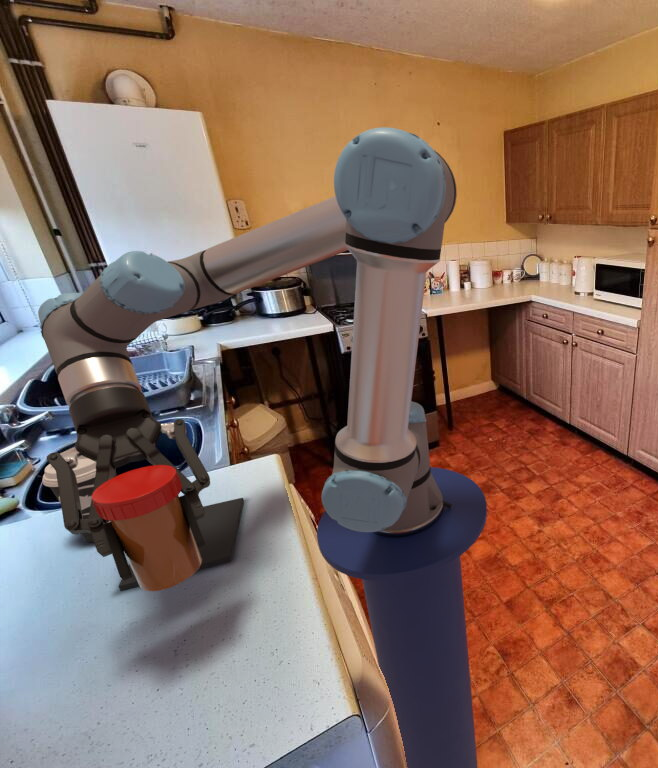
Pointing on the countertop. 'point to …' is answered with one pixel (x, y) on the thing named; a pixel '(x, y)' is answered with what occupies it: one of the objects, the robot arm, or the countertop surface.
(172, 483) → the lid
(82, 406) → the robot arm
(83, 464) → the coffee cup
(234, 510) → the mat
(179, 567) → the jar
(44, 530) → the countertop surface
